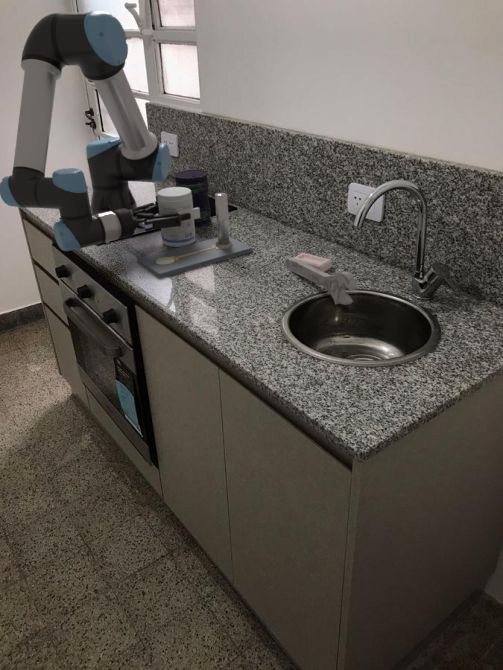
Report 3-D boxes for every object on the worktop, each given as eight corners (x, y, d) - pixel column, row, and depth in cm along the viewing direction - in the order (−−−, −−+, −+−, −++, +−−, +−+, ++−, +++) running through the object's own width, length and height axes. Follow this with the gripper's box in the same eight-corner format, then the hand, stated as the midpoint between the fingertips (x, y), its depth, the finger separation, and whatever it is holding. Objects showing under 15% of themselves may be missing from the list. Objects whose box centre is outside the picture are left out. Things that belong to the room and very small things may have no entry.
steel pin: (212, 244, 153) (208, 194, 146) (226, 241, 155) (223, 191, 148) (221, 249, 150) (218, 198, 143) (235, 245, 152) (233, 194, 145)
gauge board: (137, 262, 146) (136, 257, 146) (226, 239, 160) (226, 234, 159) (159, 278, 137) (159, 273, 136) (252, 251, 151) (252, 247, 150)
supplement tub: (165, 236, 163) (159, 186, 156) (197, 236, 163) (193, 185, 156) (160, 248, 155) (154, 196, 147) (194, 247, 155) (189, 195, 147)
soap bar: (320, 275, 137) (321, 266, 136) (290, 267, 142) (290, 258, 141) (332, 268, 140) (332, 259, 139) (302, 260, 145) (302, 251, 144)
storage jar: (176, 219, 177) (171, 172, 169) (206, 215, 180) (202, 168, 172) (184, 229, 169) (179, 179, 161) (215, 224, 171) (211, 175, 164)
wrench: (291, 276, 143) (357, 312, 117) (285, 278, 142) (350, 313, 117) (290, 246, 140) (357, 275, 114) (283, 247, 139) (350, 277, 114)
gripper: (102, 227, 156) (172, 212, 166) (135, 250, 140) (211, 231, 150) (97, 201, 152) (170, 187, 163) (131, 221, 136) (209, 204, 147)
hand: (190, 208), depth 156 cm, fingers closed on supplement tub, 9 cm apart
